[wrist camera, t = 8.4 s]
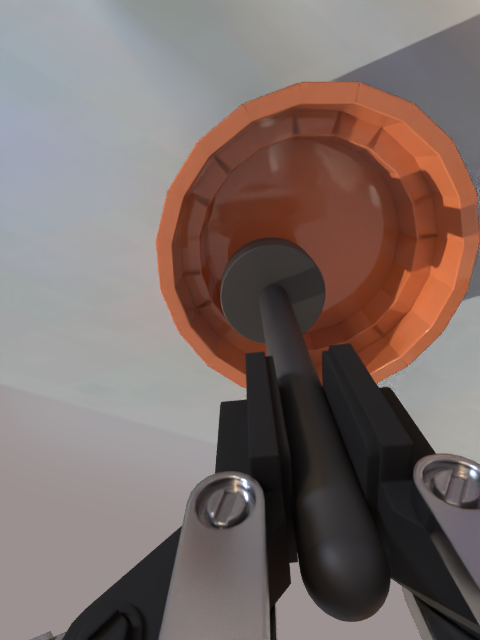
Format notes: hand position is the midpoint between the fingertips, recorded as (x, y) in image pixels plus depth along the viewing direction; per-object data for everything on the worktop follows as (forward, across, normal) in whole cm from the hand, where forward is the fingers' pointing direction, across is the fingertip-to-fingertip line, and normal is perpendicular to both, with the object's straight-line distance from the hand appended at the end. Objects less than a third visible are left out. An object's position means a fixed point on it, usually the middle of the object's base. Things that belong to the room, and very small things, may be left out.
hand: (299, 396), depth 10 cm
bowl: (+15, -2, -1) cm, 15 cm away
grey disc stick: (+11, 0, 0) cm, 11 cm away
